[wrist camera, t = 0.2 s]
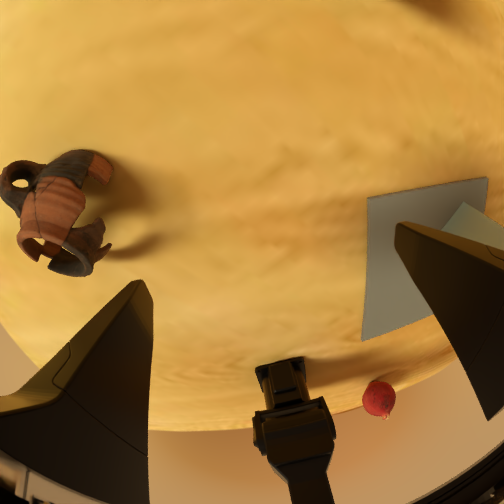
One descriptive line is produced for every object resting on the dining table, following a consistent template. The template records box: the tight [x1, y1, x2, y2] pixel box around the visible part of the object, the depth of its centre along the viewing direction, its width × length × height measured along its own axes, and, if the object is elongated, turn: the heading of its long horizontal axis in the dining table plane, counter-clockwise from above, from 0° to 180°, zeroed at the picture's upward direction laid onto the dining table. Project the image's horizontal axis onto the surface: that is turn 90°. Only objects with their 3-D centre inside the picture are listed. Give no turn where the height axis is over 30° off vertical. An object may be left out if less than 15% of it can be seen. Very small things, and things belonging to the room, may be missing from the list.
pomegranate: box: [362, 381, 396, 420], centre depth 38 cm, size 6×6×8 cm
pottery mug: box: [0, 150, 113, 277], centre depth 19 cm, size 12×10×8 cm
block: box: [441, 202, 504, 250], centre depth 22 cm, size 5×5×12 cm
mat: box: [361, 177, 488, 342], centre depth 29 cm, size 20×19×1 cm
